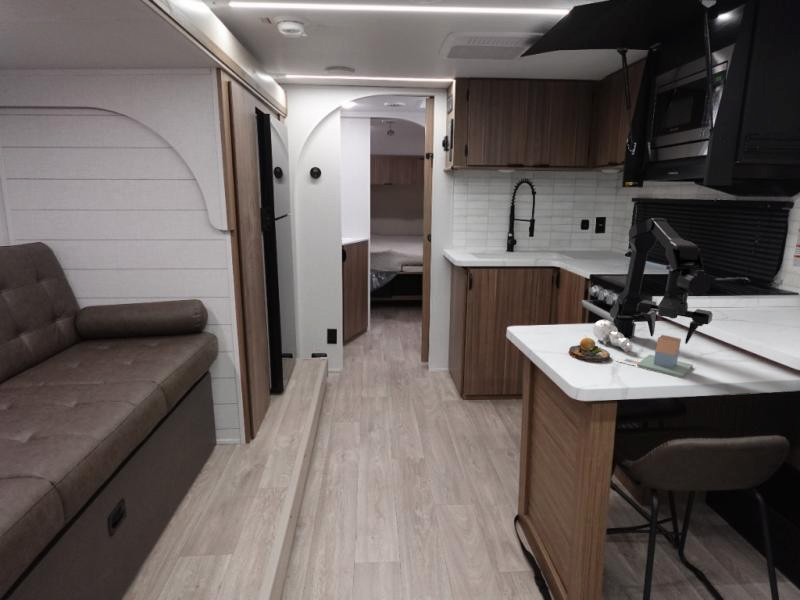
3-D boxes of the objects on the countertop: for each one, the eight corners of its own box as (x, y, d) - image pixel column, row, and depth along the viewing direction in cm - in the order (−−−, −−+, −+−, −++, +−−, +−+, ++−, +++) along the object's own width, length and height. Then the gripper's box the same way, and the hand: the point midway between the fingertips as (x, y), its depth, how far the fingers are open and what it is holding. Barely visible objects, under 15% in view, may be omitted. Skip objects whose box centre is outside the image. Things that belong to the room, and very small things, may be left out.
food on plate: (617, 362, 149) (620, 338, 148) (582, 364, 147) (585, 340, 145) (593, 349, 161) (596, 327, 159) (561, 351, 158) (563, 328, 156)
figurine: (627, 329, 155) (599, 308, 168) (608, 344, 156) (582, 323, 169) (641, 348, 160) (613, 327, 173) (623, 363, 161) (596, 341, 174)
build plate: (637, 366, 145) (637, 364, 145) (649, 356, 154) (649, 354, 154) (682, 378, 138) (682, 375, 137) (692, 367, 146) (692, 364, 146)
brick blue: (658, 360, 149) (660, 347, 148) (676, 364, 146) (678, 351, 145) (653, 364, 146) (655, 351, 145) (672, 368, 142) (674, 355, 141)
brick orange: (655, 351, 145) (657, 338, 144) (660, 347, 148) (662, 334, 147) (674, 355, 141) (677, 342, 140) (678, 351, 145) (681, 338, 144)
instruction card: (616, 361, 149) (616, 360, 149) (622, 356, 154) (622, 356, 154) (644, 368, 144) (644, 367, 144) (650, 363, 148) (650, 362, 148)
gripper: (634, 286, 142) (626, 338, 145) (708, 298, 130) (698, 354, 133) (646, 281, 150) (638, 330, 153) (717, 292, 138) (707, 345, 141)
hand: (668, 339), depth 145 cm, fingers open, 9 cm apart
